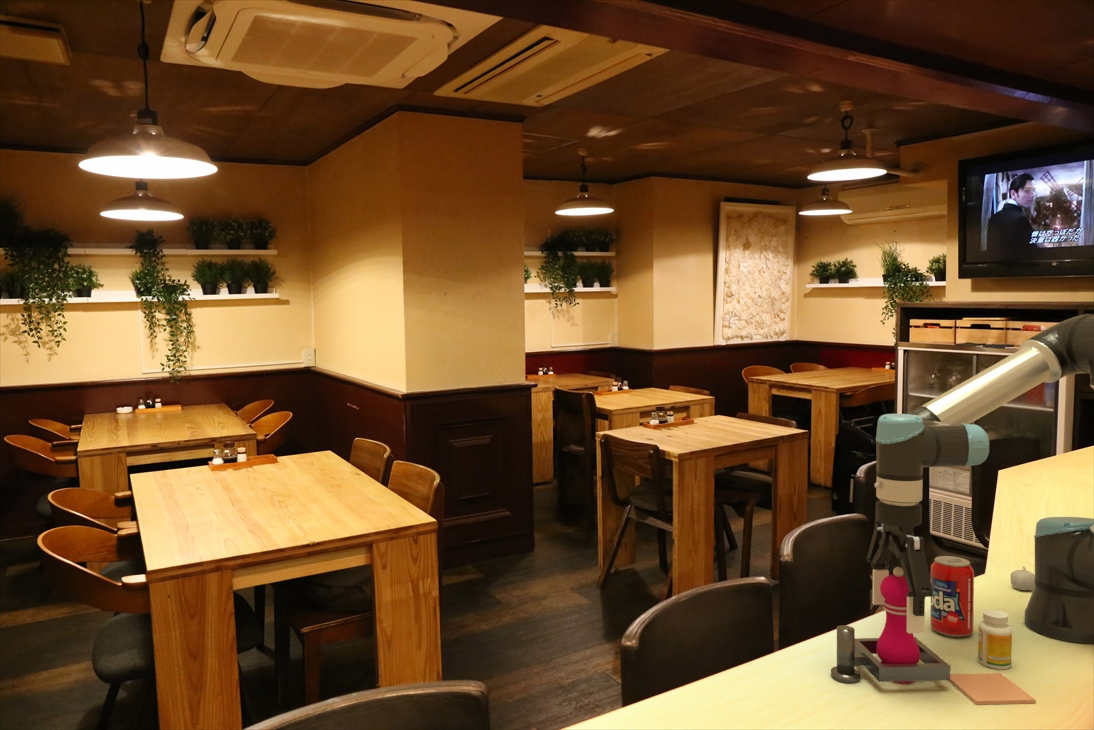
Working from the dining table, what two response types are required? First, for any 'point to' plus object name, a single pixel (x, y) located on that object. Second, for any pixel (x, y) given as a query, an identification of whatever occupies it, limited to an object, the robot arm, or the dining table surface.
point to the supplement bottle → (994, 640)
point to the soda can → (952, 596)
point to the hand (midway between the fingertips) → (897, 617)
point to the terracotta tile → (990, 689)
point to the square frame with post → (862, 655)
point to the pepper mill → (896, 624)
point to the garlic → (1023, 579)
